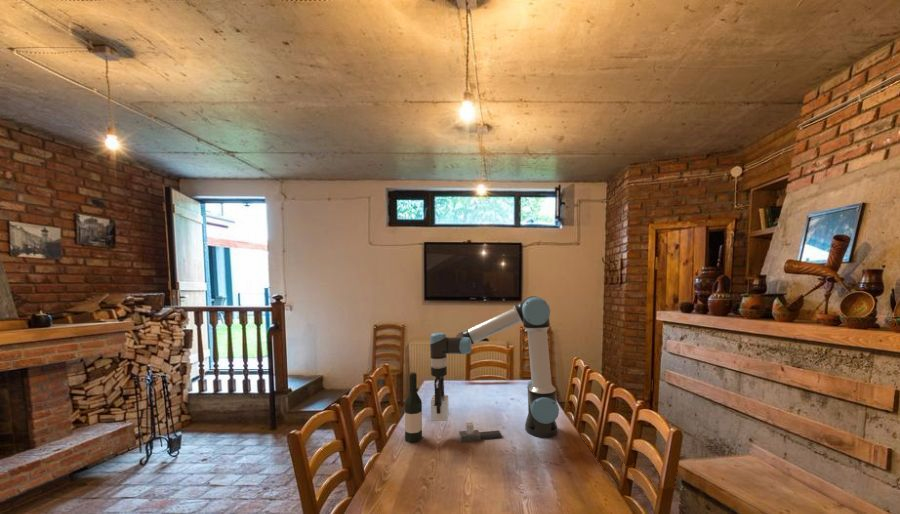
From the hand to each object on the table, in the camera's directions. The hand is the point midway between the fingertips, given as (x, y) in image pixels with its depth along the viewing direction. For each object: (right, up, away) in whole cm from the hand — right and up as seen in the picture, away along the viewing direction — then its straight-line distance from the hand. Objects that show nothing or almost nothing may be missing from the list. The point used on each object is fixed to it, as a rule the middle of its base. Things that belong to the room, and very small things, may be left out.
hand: (440, 416), depth 153 cm
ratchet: (+19, -9, -1) cm, 21 cm away
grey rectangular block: (0, -1, 0) cm, 1 cm away
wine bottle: (-12, -10, -1) cm, 16 cm away
